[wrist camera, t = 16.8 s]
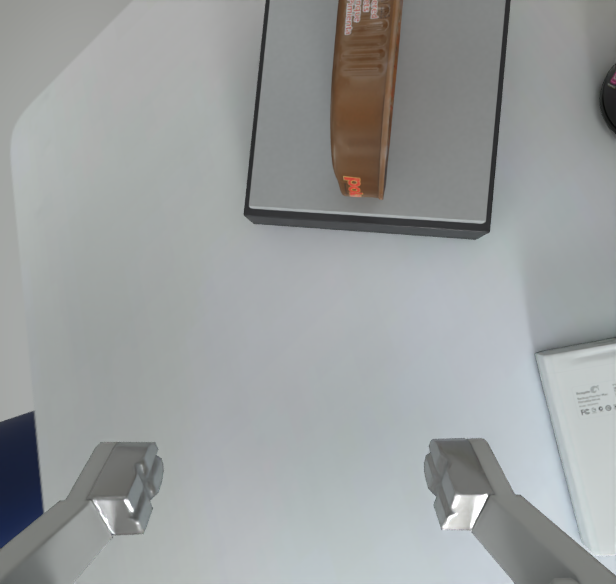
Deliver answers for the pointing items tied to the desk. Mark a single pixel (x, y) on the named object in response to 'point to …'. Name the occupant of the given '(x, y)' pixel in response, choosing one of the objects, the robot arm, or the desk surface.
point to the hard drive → (586, 433)
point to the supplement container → (609, 99)
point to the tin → (363, 93)
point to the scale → (405, 121)
